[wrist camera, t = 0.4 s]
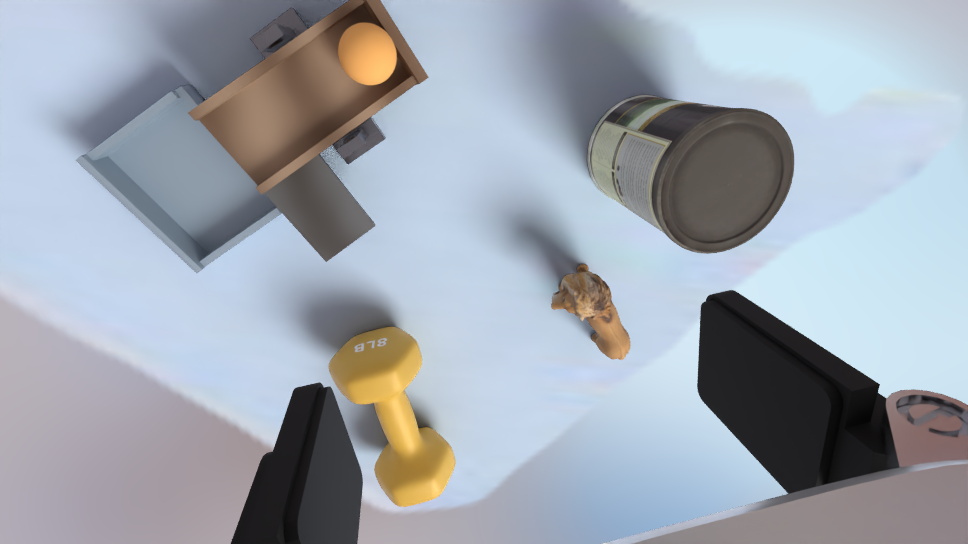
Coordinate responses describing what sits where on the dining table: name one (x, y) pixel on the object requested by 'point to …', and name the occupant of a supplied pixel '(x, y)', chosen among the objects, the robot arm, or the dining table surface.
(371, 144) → the lever stand
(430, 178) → the dining table surface
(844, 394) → the robot arm
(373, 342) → the dumbbell
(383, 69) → the ball
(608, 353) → the lion figurine
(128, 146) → the tray
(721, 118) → the coffee can
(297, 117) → the brown tilting tray
